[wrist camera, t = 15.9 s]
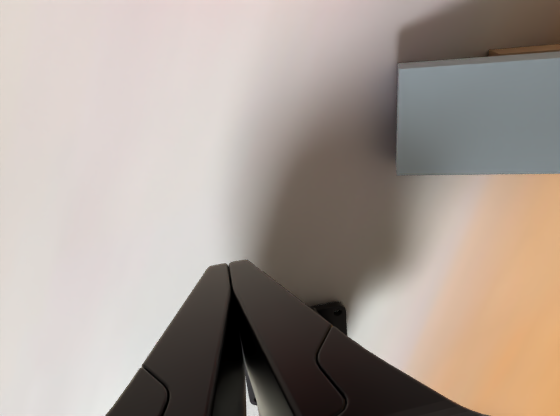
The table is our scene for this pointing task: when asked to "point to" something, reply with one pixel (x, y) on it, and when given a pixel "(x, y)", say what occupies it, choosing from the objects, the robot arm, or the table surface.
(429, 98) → the domino
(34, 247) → the table surface
